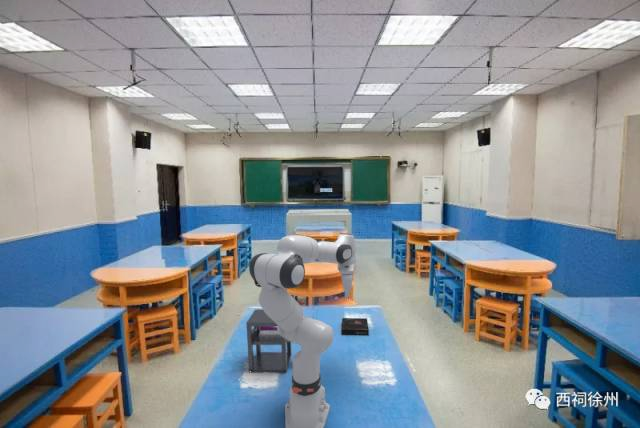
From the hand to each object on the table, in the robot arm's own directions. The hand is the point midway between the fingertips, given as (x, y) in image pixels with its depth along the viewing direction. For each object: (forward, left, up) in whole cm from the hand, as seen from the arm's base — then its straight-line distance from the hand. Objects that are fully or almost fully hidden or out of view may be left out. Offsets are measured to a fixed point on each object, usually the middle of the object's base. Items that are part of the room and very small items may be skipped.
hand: (347, 293), depth 153 cm
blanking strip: (+4, +34, -24) cm, 42 cm away
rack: (+4, +40, -39) cm, 56 cm away
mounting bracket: (+33, +47, -40) cm, 70 cm away
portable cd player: (+43, -5, -40) cm, 59 cm away
